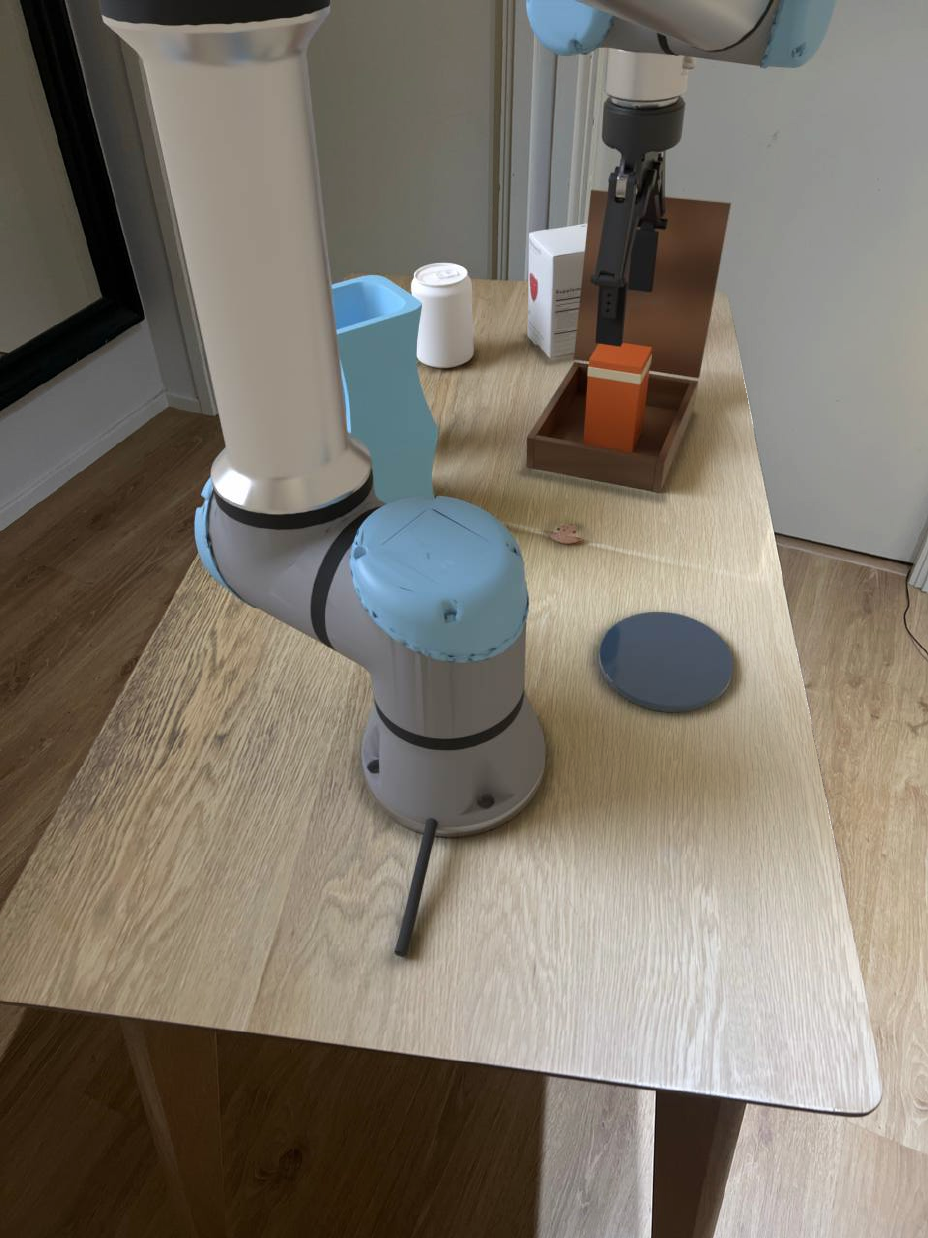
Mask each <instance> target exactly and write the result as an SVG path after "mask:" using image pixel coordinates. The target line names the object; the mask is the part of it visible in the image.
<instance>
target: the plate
mask: <svg viewBox="0 0 928 1238" xmlns="http://www.w3.org/2000/svg"><path fill="white" fill-rule="evenodd" d="M598 663H599V667H600V671H601V674H602V676H603V678H604V680H605V681H606V682H607V684H608V685H609V686H610V687H611V688H612V690H614V692H616V693H617V694H618V695H619V696H621V697H622V698H623V699H624V700H627V701H629V702H631V704H632V703H633V704H634V705H637V706H639V707H642V708H644V709H649V710H652V711H657V712H664V713H665V712H666V713H683V712H684V713H685V712H690V711H695V710H698V709H701V708H704V707H706V706H707V705H710V704H712V703H713V702H715V701H717V699H719V698H720V697H721V696H722V695H723V694H724V693H725V692H726V691H727V688H728V687H729V685H730V682H731V679H732V676H733V670H734V661H733V656H732V653H731V651H730V648H729V646H728V645H727V643H726V642H725V640H724V639H723V638H722V636H721V635H719V634H718V633H717V632H716V631H715V630H714V629H713V628H711V627H710V626H708V625H707V624H705V623H703V622H702V621H699V620H698V619H695V618H692V617H690V616H687V615H683V614H680V613H674V612H666V611H650V612H649V611H648V612H642V613H641V612H640V613H638V614H634V615H630V616H628V617H625V618H623V619H622V620H619V621H618V622H616V623H615V624H614V625H612V626H611V628H609V630H607V632H606V633H605V634H604V636H603V638H602V640H601V642H600V646H599V653H598Z"/></svg>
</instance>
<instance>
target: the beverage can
mask: <svg viewBox="0 0 928 1238" xmlns="http://www.w3.org/2000/svg"><path fill="white" fill-rule="evenodd" d="M468 272H469V271H468V270H467V268H466V267H464V266H462V265H460V264H457V263H450V262H435V263H430V264H426V265H423V266H420V267H419V268H418V269H416V270H415V271H414V273H413V279H412V280H411V282H410V290H411V295H412V296H414V297H415V298H417V299H418V300H419V301H420V302H421V303H422V310H421V317H420V323H419V331H418V339H417V360H418V361H419V362H420V363H422V364H424V365H426V366H429V367H432V368H436V369H451V368H455V367H458V366H461V365H464V364H465V363H467V362H468V361H470V360H471V359H472V358H473V356H474V351H475V349H474V347H475V346H474V318H473V316H474V313H473V285H472V284H473V283H472V279H471V277H470V275H469V273H468Z"/></svg>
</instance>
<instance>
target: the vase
mask: <svg viewBox="0 0 928 1238" xmlns="http://www.w3.org/2000/svg"><path fill="white" fill-rule="evenodd" d="M331 284H332V283H331ZM332 293H333V302H334V311H335V320H336V329H337V338H338V348H339V357H340V366H341V375H342V384H343V393H344V402H345V411H346V421H347V430H348V432H349V433H351V434H352V435H354V436H356V437H357V438H358V439H360V440H361V441H362V442H363V443H364V444H365V445H366V447H367V448H368V450H369V452H370V454H371V460H372V471H373V479H374V490H375V495H376V497H377V498H378V499H379V500H380V501H382V502H384V503H387V504H388V503H390V502H393V501H395V500H399V499H402V498H407V497H413V496H423V497H424V498H425V499H426V500H427V501H434V500H435V499H436V497H435V493H434V488H433V487H434V486H433V470H434V462H435V457H436V455H435V454H436V451H437V446H438V441H439V427H438V425H437V423H436V420H435V418H434V416H433V413H432V412H431V410H430V407H429V405H428V402H427V400H426V397H425V394H424V391H423V388H422V384H421V379H420V375H419V370H418V369H419V368H418V358H417V339H418V331H419V323H420V317H421V310H422V303H421V302H420V301H419V300H418V299H417V298H415V297H414V296H412V293H409V292H408V291H407V290H405V289H404V288H402V287H401V286H399V285H397V283H395V282H393V281H392V280H390V279H388V278H387V277H385V276H382V275H379V274H378V275H376V274H367V275H362V276H357V277H354V278H351V279H347V280H344V281H339V282H336V283H333V284H332Z"/></svg>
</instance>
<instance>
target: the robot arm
mask: <svg viewBox="0 0 928 1238" xmlns="http://www.w3.org/2000/svg"><path fill="white" fill-rule="evenodd" d="M97 1H98V6H99V11H100V14H101V17H102V22H103V23H104V24H105V25H106V26H107V27H108V28H110V30H112V31H113V32H114V33H115V34H116V35H118V37H120V38H121V40H123V41H124V42H125V43H126V44H127V45H129V47H131V48H132V49H133V50H134V51H135V52H136V53H137V54H138V55H139V57H140V59H141V61H142V64H143V68H144V72H145V76H146V82H147V86H148V92H149V96H150V100H151V101H150V102H151V105H152V110H153V115H154V121H155V123H156V129H157V132H158V133H157V134H158V137H159V142H160V146H161V147H160V148H161V151H162V156H163V161H164V165H165V170H166V171H165V172H166V175H167V179H168V183H169V189H170V193H171V199H172V203H173V207H174V212H175V217H176V221H177V226H178V230H179V235H180V240H181V245H182V249H183V250H182V251H183V253H184V259H185V263H186V268H187V273H188V277H189V281H190V287H191V291H192V295H193V301H194V304H195V310H196V314H197V319H198V323H199V329H200V333H201V337H202V342H203V347H204V352H205V357H206V361H207V364H208V365H207V367H208V370H209V375H210V379H211V384H212V389H213V393H214V394H213V395H214V398H215V403H216V407H217V413H218V416H219V421H220V426H221V431H222V434H223V435H222V436H223V440H224V444H225V445H224V446H225V447H224V448H223V449H222V450H221V451H220V452H219V453H218V455H217V456H216V457H215V459H214V461H213V462H212V465H211V468H210V477H209V478H208V479H207V481H206V483H205V484H204V486H203V489H202V491H201V494H200V496H201V497H202V498H204V501H203V504H202V506H198V507H196V510H195V515H194V540H195V544H196V549H197V552H198V555H199V557H200V560H201V562H202V564H203V566H204V567H205V569H206V570H207V572H208V573H209V574H210V576H211V577H212V578H213V579H214V581H216V582H217V583H218V584H219V585H221V586H222V587H223V588H224V589H226V590H227V591H228V592H229V593H231V594H232V595H234V596H235V598H236V599H238V600H239V601H241V602H242V603H244V604H247V606H249V607H251V608H254V609H258V610H260V611H261V612H264V613H265V614H267V615H269V616H271V617H273V618H275V619H276V620H278V621H280V622H282V623H284V624H285V625H287V626H289V627H291V628H293V629H295V630H297V632H298V631H299V632H300V633H301V634H304V635H306V636H307V637H309V638H311V639H313V640H315V641H317V642H319V643H320V644H321V645H324V646H325V647H327V648H329V649H331V650H333V651H335V652H337V653H338V654H340V655H341V656H343V657H345V658H347V659H348V660H350V661H352V662H354V663H355V664H357V665H360V666H361V667H362V668H364V669H365V670H366V672H367V673H368V674H369V677H370V683H371V689H372V695H373V705H372V707H371V710H370V714H369V717H368V718H367V723H366V726H365V729H364V732H363V735H362V740H361V751H360V752H361V754H360V755H361V756H360V761H361V769H362V775H363V779H364V784H365V785H366V789H367V791H368V793H369V796H370V797H371V798H372V800H373V801H374V803H375V805H377V807H378V808H379V809H380V810H381V811H382V812H383V813H384V814H385V815H386V816H388V817H389V818H390V819H391V820H393V821H394V822H396V823H398V824H399V825H401V826H403V827H405V828H407V829H410V830H412V831H415V832H418V833H421V834H422V837H421V841H420V846H419V849H418V853H417V859H416V862H415V866H414V870H413V875H412V879H411V882H410V883H411V884H410V887H409V892H408V896H407V900H406V905H405V909H404V912H403V913H404V914H403V918H402V922H401V926H400V930H399V934H398V938H397V940H396V944H395V949H394V954H395V955H396V956H398V957H401V958H405V957H406V956H408V952H409V950H410V949H409V948H410V945H411V941H412V937H413V933H414V928H415V924H416V920H417V916H418V911H419V908H420V902H421V898H422V894H423V888H424V885H425V879H426V876H427V872H428V867H429V863H430V858H431V854H432V850H433V846H434V842H435V837H444V838H457V837H458V838H459V837H467V836H473V835H476V834H482V833H484V832H488V831H491V830H493V829H495V828H497V827H500V826H502V825H503V824H505V823H507V822H509V821H511V820H512V819H513V818H515V817H516V816H517V815H518V814H520V813H521V812H522V811H523V810H524V809H525V808H526V807H527V806H528V805H529V804H530V803H531V801H532V800H533V799H534V797H535V795H536V794H537V792H538V790H539V788H540V787H541V784H542V781H543V778H544V774H545V769H546V757H547V755H546V752H547V751H546V741H545V735H544V730H543V728H542V727H543V726H542V725H541V722H540V720H539V717H538V715H537V714H536V713H535V710H534V708H533V705H532V703H531V701H530V698H529V697H528V695H527V693H526V690H525V681H526V650H527V620H528V616H529V611H530V596H529V591H528V586H527V584H528V583H527V580H526V567H525V560H524V557H523V554H522V551H521V548H520V546H519V543H518V541H517V540H516V538H515V537H514V534H513V533H512V532H511V531H510V529H508V527H507V526H506V525H505V524H504V523H503V522H501V520H499V519H498V518H497V517H496V516H494V515H493V514H492V513H490V512H489V511H487V510H486V509H484V508H482V507H480V506H478V505H476V504H474V503H471V502H469V501H466V500H463V499H459V498H455V497H450V496H445V495H437V496H436V497H435V500H434V501H427V500H426V499H425V498H424V497H423V496H413V497H407V498H402V499H399V500H395V501H393V502H390V503H388V504H387V503H384V502H382V501H380V500H379V499H378V498H377V497H376V495H375V490H374V479H373V471H372V460H371V454H370V452H369V450H368V448H367V447H366V445H365V444H364V443H363V442H362V441H361V440H360V439H358V438H357V437H356V436H354V435H352V434H351V433H349V432H348V430H347V421H346V411H345V402H344V393H343V384H342V375H341V366H340V357H339V348H338V338H337V329H336V320H335V311H334V302H333V293H332V275H331V267H330V266H331V265H330V257H329V249H328V248H329V247H328V239H327V230H326V221H325V212H324V204H323V193H322V184H321V176H320V175H321V174H320V168H319V167H320V166H319V156H318V149H317V148H318V147H317V139H316V130H315V129H316V128H315V121H314V112H313V102H312V93H311V85H310V84H311V83H310V73H309V65H308V57H307V51H308V48H309V45H310V42H311V40H312V39H313V37H314V35H315V34H316V33H317V31H318V30H319V28H320V27H321V25H322V24H323V23H324V21H325V20H326V19H327V17H328V16H329V14H331V0H97ZM525 4H526V5H525V8H526V14H527V19H528V22H529V25H530V28H531V30H532V32H533V34H534V36H535V37H536V38H537V40H538V42H539V43H540V44H541V45H542V46H543V47H544V48H545V49H546V50H548V51H549V52H551V53H553V54H555V55H557V56H561V57H572V56H573V57H574V56H577V55H581V56H585V55H588V54H590V53H592V52H595V51H596V50H597V49H603V48H604V49H606V58H605V59H606V60H605V73H604V86H603V90H604V93H605V94H606V96H608V97H607V98H606V99H605V101H604V102H603V107H602V108H603V109H602V110H603V111H602V126H601V140H602V143H603V144H604V145H605V146H606V147H607V148H610V149H611V150H616V151H617V152H619V154H620V157H621V158H620V160H619V166H618V165H616V166H615V168H614V171H613V172H610V174H609V176H608V179H607V180H608V181H607V182H608V186H607V187H608V188H607V191H608V197H607V204H606V210H605V216H604V222H603V228H602V234H601V240H600V246H599V252H598V258H597V264H596V270H595V275H591V283H593V284H594V285H596V286H599V295H598V310H597V325H596V339H595V343H598V344H605V345H612V346H619V347H621V345H622V342H623V331H624V320H625V309H626V298H627V287H628V290H636V291H644V292H652V290H653V281H654V272H655V263H656V254H657V245H658V236H659V232H658V231H655V229H661V230H666V227H667V222H668V219H665V218H661V217H663V216H664V214H665V211H666V209H665V196H666V156H667V155H666V154H667V151H668V150H671V149H673V148H675V147H676V146H677V145H678V144H679V143H680V142H681V140H682V136H683V127H684V119H685V110H686V102H685V100H684V98H683V97H682V95H684V94H685V93H686V92H687V89H688V79H689V72H690V70H694V69H695V68H696V67H697V63H698V61H697V58H698V59H704V60H711V61H712V60H713V61H717V62H718V61H720V62H727V63H733V64H740V65H749V66H756V67H759V68H761V69H767V68H769V67H772V68H787V69H796V68H801V67H802V66H805V65H806V64H807V63H808V62H810V61H811V60H812V59H813V57H815V55H816V54H817V52H818V51H819V49H820V48H821V45H822V43H823V42H824V39H825V37H826V35H827V32H828V30H829V28H830V25H831V22H832V18H833V15H834V12H835V8H836V4H837V0H525ZM619 199H621V200H619ZM637 227H640V230H639V229H637ZM630 256H631V259H630ZM629 261H630V270H629V281H628V282H626V274H627V270H628V265H629ZM607 271H608V272H607ZM610 272H613V273H610Z"/></svg>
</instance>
